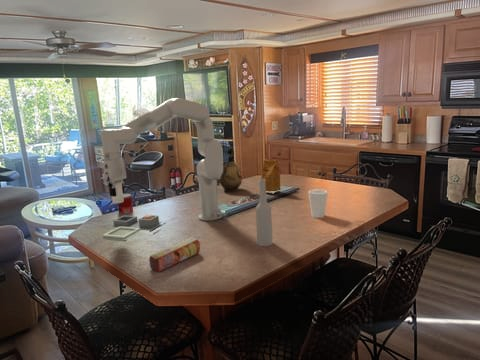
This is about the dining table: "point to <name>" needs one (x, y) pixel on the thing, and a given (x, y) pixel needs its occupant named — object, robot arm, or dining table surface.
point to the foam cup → (318, 202)
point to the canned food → (126, 204)
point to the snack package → (174, 254)
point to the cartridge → (118, 192)
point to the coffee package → (271, 175)
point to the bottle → (263, 218)
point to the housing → (137, 222)
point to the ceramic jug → (231, 174)
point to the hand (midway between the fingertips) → (117, 194)
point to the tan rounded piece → (148, 217)
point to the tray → (120, 236)
